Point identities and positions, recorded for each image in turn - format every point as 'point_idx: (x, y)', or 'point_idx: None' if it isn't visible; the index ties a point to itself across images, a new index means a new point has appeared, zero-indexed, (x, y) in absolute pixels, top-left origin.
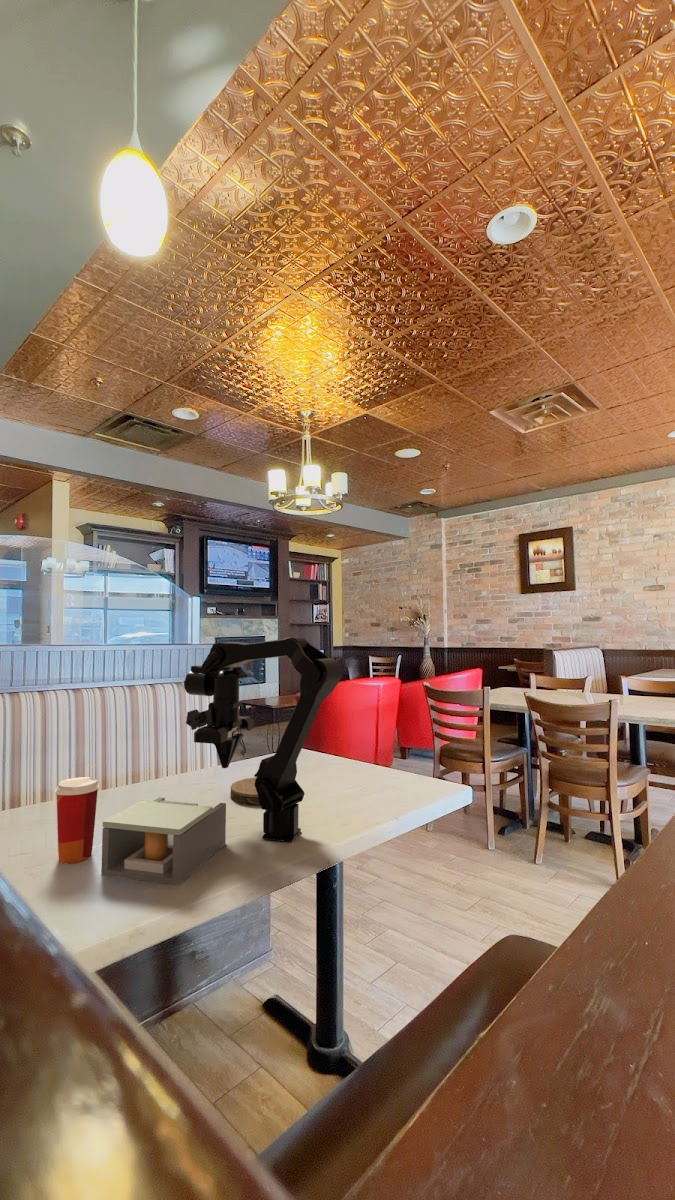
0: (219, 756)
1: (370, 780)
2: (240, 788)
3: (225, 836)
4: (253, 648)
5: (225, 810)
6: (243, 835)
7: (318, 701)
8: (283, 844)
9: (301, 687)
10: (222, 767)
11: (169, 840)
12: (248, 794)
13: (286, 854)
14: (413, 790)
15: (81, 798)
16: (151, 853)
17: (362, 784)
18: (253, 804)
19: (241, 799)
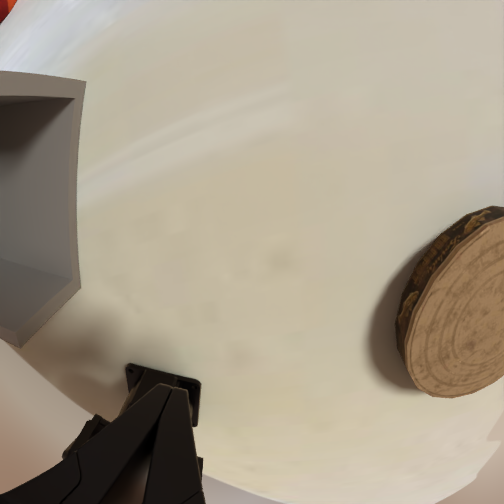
0: (94, 441)
1: (483, 452)
2: (487, 260)
3: (71, 296)
4: None
5: (29, 335)
6: (139, 321)
7: None
8: (123, 394)
9: None
10: (158, 386)
11: (32, 149)
12: (419, 306)
13: (88, 394)
14: (411, 497)
15: None
16: None
17: (470, 451)
18: (402, 305)
19: (426, 268)
